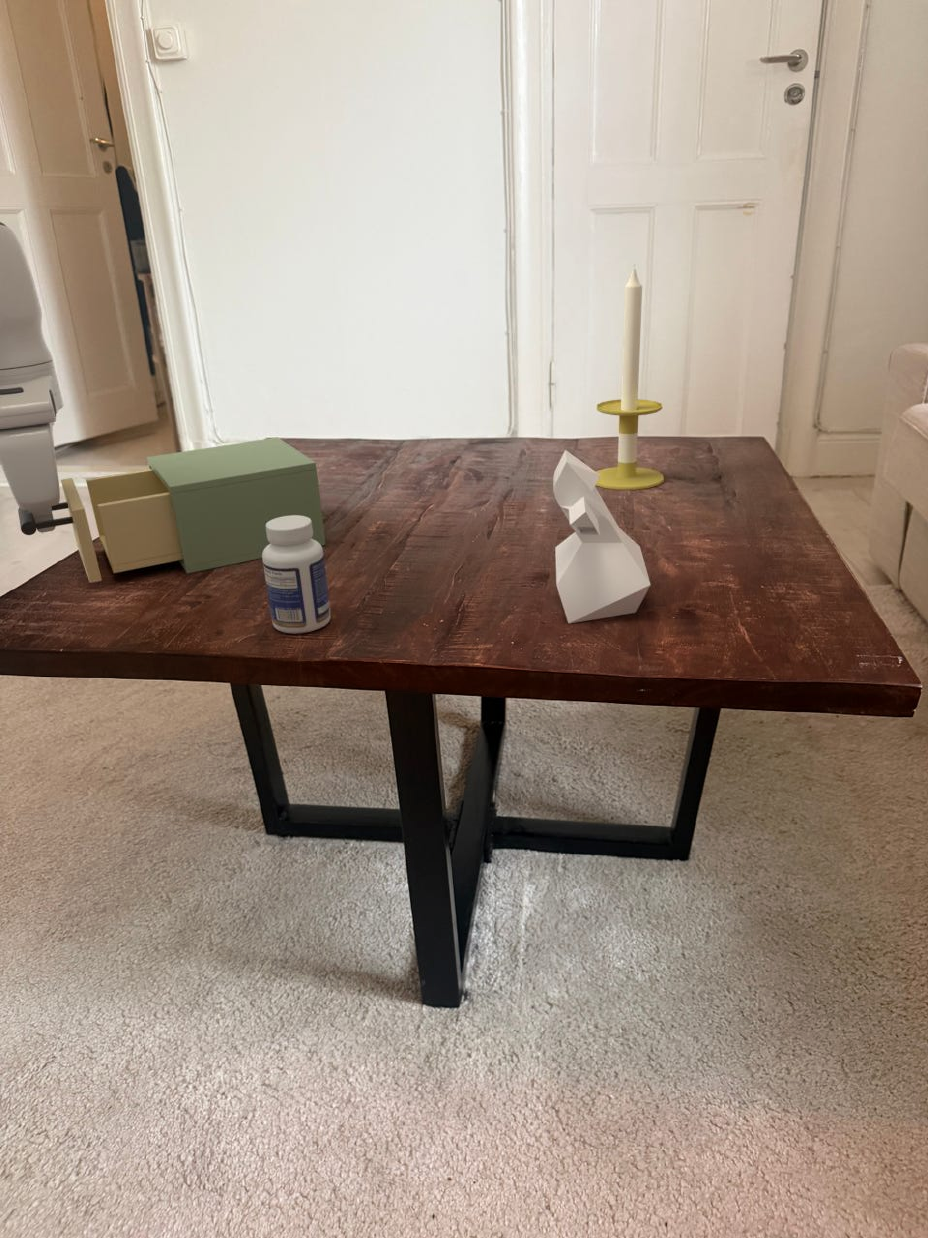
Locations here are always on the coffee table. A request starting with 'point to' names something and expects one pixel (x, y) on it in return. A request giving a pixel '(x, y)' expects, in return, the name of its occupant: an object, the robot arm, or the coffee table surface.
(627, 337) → the candle
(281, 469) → the cabinet
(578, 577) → the faceted knight figurine
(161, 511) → the drawer
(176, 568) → the coffee table surface
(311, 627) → the pill bottle
